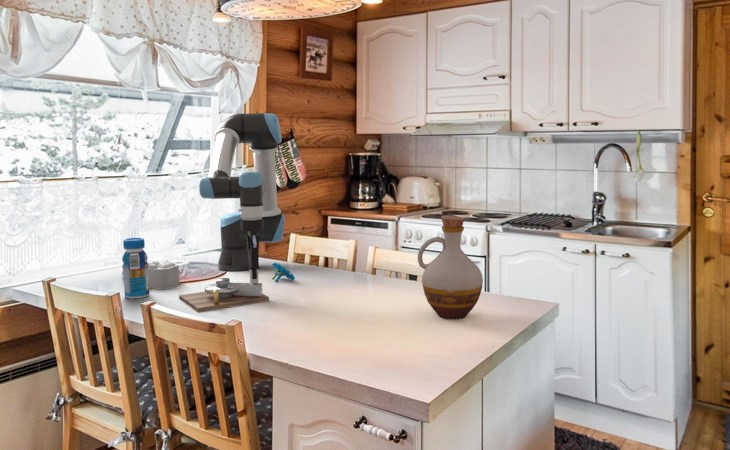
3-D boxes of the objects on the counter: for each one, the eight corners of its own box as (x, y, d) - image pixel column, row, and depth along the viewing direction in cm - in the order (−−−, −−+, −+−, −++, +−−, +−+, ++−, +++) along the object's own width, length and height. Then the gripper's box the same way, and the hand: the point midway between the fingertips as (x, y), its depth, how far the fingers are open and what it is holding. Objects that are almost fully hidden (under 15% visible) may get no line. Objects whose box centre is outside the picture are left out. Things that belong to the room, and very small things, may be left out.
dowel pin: (213, 303, 193) (212, 290, 192) (217, 302, 194) (217, 289, 193) (214, 304, 191) (214, 291, 191) (219, 304, 192) (219, 290, 192)
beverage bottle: (118, 298, 206) (114, 240, 203) (136, 292, 214) (132, 236, 211) (138, 300, 203) (134, 241, 200) (155, 294, 211) (152, 237, 208)
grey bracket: (199, 297, 197) (198, 283, 197) (213, 289, 209) (212, 275, 208) (255, 299, 195) (255, 284, 194) (266, 290, 207) (265, 276, 206)
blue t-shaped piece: (299, 277, 227) (280, 261, 223) (290, 290, 225) (271, 273, 221) (288, 276, 236) (269, 260, 233) (279, 288, 234) (260, 272, 230)
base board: (179, 298, 204) (178, 289, 204) (246, 288, 217) (245, 280, 217) (197, 311, 188) (197, 302, 187) (269, 300, 201) (268, 291, 200)
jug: (409, 320, 176) (409, 218, 172) (425, 305, 193) (425, 212, 188) (476, 327, 169) (477, 221, 165) (487, 310, 186) (488, 214, 182)
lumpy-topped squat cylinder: (165, 289, 218) (164, 265, 217) (136, 287, 222) (134, 263, 221) (183, 283, 228) (181, 260, 227) (154, 280, 232) (152, 258, 231)
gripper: (238, 216, 205) (241, 284, 209) (242, 221, 193) (245, 293, 196) (260, 215, 207) (263, 282, 211) (265, 220, 195) (268, 291, 198)
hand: (254, 287), depth 203 cm, fingers closed
